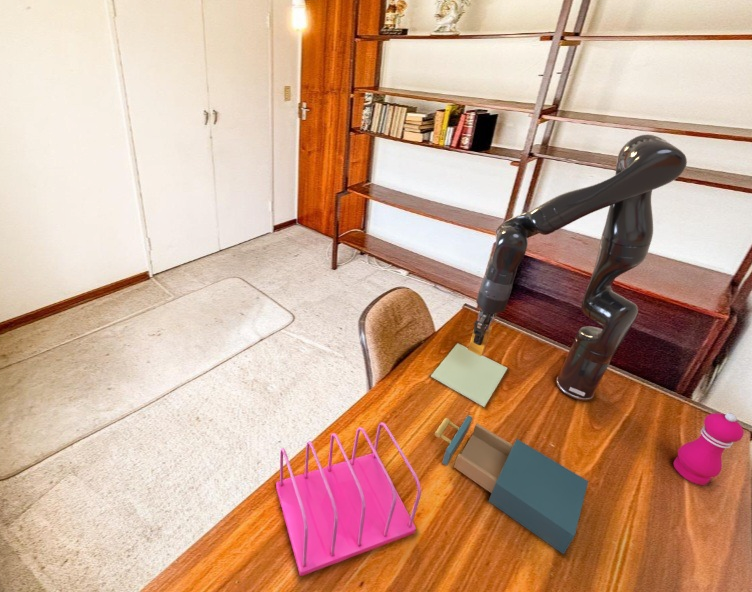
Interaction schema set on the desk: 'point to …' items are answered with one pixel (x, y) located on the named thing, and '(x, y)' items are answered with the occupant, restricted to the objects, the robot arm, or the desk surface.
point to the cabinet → (540, 495)
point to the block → (479, 348)
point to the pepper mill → (708, 448)
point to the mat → (470, 374)
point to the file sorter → (343, 507)
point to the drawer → (476, 453)
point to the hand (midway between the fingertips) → (479, 340)
